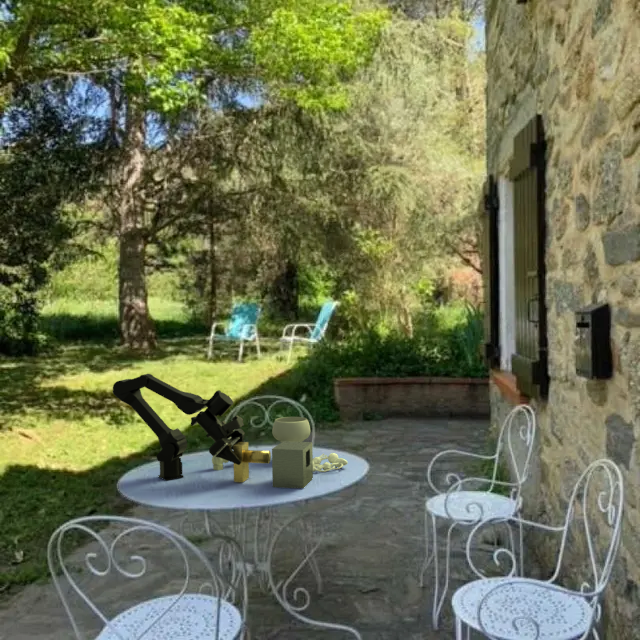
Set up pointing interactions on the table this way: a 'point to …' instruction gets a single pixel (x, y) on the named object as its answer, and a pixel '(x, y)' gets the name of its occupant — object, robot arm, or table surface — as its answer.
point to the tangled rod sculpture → (327, 466)
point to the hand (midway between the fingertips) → (245, 460)
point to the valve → (218, 462)
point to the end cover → (247, 460)
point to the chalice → (291, 429)
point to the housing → (292, 464)
